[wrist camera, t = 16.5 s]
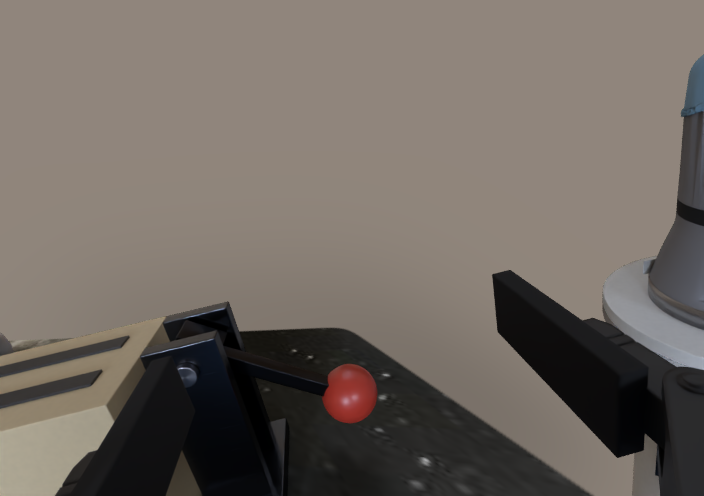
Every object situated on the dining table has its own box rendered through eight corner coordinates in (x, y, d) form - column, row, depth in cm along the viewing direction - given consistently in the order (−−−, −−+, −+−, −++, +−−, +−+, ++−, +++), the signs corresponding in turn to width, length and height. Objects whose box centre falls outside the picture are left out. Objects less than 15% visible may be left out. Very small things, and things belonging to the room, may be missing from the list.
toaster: (220, 441, 34) (168, 312, 30) (189, 567, 24) (105, 403, 20) (67, 481, 33) (-9, 355, 29) (-27, 627, 24) (-162, 470, 19)
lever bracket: (289, 428, 34) (243, 287, 29) (286, 530, 25) (221, 354, 21) (221, 446, 33) (164, 305, 29) (195, 556, 25) (108, 382, 20)
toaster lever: (359, 402, 31) (380, 361, 30) (367, 441, 27) (391, 396, 26) (175, 351, 27) (193, 303, 26) (156, 388, 24) (175, 333, 23)
